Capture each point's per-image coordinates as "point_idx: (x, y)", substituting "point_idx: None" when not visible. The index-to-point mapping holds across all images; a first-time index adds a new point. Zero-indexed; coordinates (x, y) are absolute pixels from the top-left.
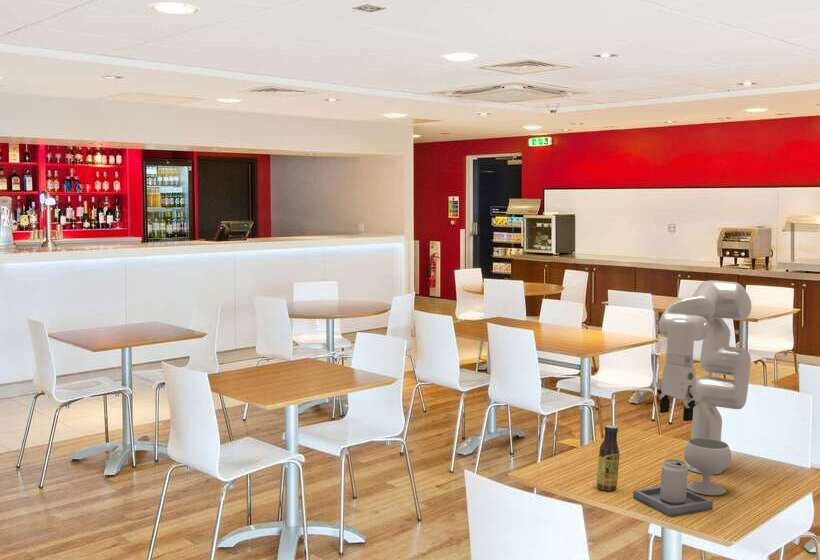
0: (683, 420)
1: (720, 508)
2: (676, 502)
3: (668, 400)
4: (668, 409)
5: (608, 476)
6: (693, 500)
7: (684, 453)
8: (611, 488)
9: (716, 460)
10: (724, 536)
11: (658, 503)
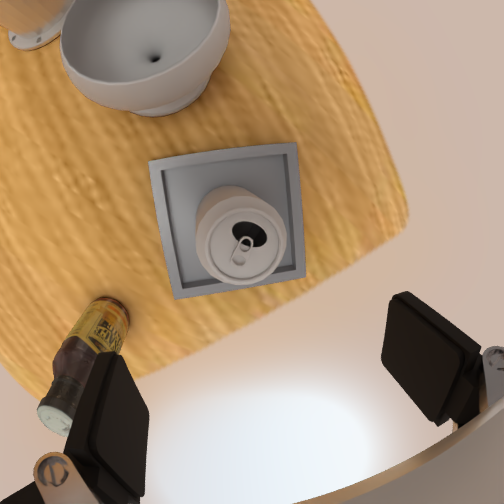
0: (386, 361)
1: (287, 117)
2: (259, 228)
3: (106, 455)
4: (119, 375)
5: (122, 344)
6: (239, 159)
7: (96, 102)
8: (128, 320)
9: (226, 44)
10: (401, 223)
11: (265, 283)
